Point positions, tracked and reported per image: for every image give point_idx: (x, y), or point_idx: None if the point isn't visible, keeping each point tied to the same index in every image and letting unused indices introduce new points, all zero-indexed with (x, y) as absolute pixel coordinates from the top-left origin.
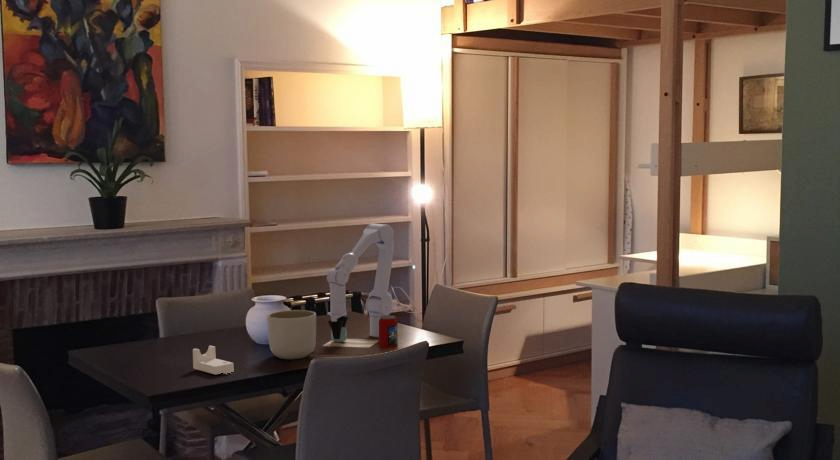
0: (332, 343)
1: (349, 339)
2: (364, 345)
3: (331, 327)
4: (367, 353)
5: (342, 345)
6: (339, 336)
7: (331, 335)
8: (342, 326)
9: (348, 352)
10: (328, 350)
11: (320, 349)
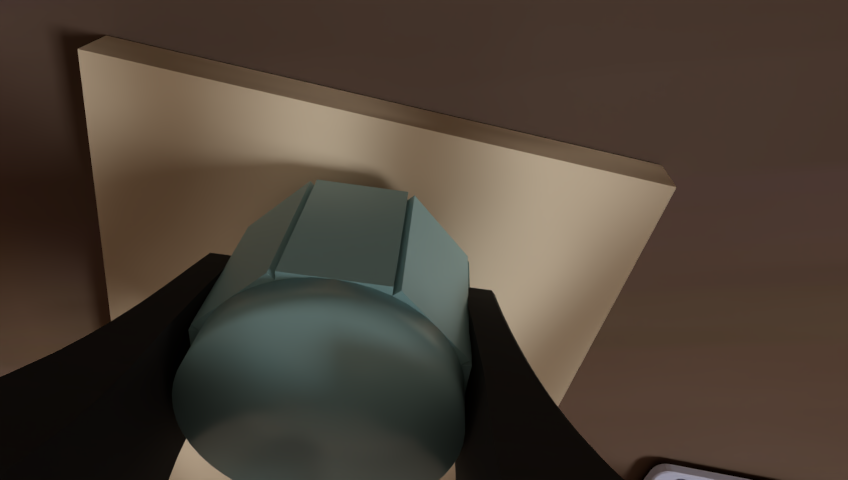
0: (271, 186)
1: (536, 358)
2: (214, 473)
3: (26, 376)
4: None
5: None
6: None
7: (274, 234)
8: (463, 470)
9: (25, 339)
10: (45, 133)
11: (70, 7)
